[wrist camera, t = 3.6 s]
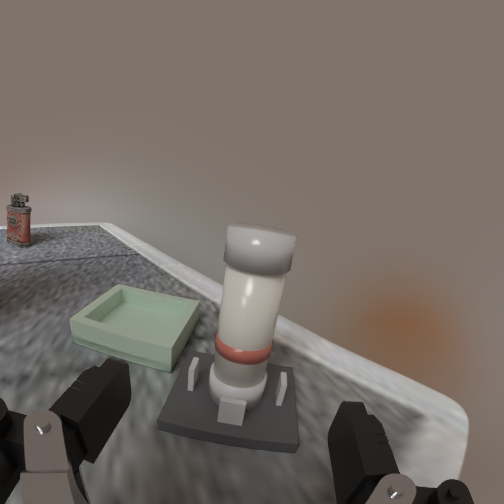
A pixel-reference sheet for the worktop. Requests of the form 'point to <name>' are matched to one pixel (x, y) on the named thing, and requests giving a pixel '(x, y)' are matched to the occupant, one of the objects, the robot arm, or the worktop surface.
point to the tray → (137, 326)
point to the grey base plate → (232, 410)
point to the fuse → (249, 310)
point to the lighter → (18, 221)
